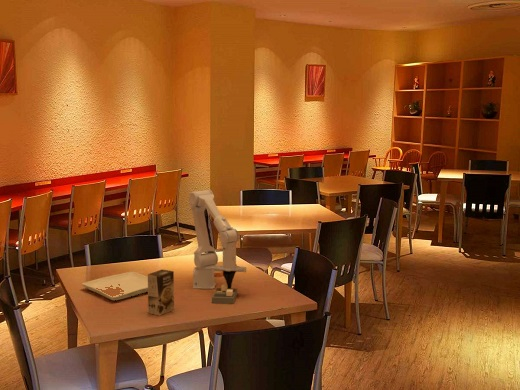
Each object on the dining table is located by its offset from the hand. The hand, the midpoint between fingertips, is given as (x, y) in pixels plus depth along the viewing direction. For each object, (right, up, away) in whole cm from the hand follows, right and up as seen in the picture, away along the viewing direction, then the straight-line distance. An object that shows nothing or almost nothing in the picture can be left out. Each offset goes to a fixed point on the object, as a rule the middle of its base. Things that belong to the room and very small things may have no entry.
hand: (229, 287), depth 257 cm
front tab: (0, -2, -7) cm, 7 cm away
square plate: (-48, -3, +9) cm, 49 cm away
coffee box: (-26, -7, -18) cm, 33 cm away
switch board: (-2, -4, -3) cm, 5 cm away
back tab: (-2, -1, 0) cm, 2 cm away
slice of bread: (-5, +2, +39) cm, 39 cm away
